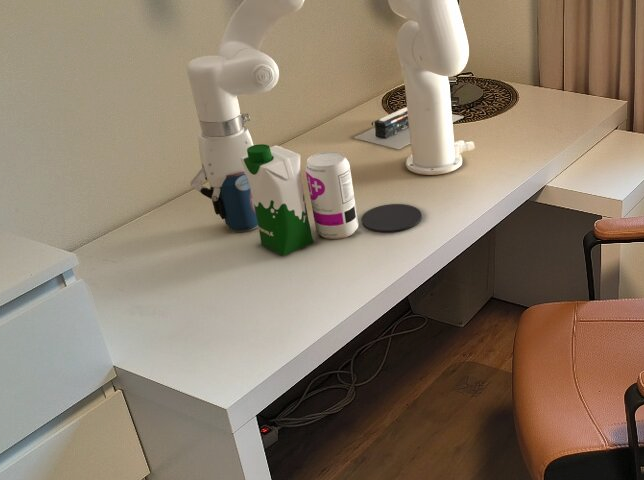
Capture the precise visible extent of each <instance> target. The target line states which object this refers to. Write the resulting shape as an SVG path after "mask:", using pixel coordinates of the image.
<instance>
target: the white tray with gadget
mask: <svg viewBox="0 0 644 480" xmlns="http://www.w3.org/2000/svg"><path fill="white" fill-rule="evenodd" d="M464 117H465V116H463V115H459V114H454V113H452V124H453V123H454V122H457V121H459V120H460V119H463V118H464ZM371 126H374V127H373V128H371V129H369V130H366V131H364V132H362V133H360V134H358V135H356V136H353V137H352V138H353V139H357V140H361V141H364V142H369V143H373V144H377V145H379V146H380V145H381V146H383V147H388V148H391V149H395V150H400V149H402V148H404V147H406V146H408V145H411V139H410V130H409V121H408V111H407V106H405V107H403V108H400V109H398V110H396V111H394V112H392V113H390V114H387V115H385V116H383V117H380V118H379V119H377V120H375V121H372V122H371Z"/></svg>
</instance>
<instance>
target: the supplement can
mask: <svg viewBox="0 0 644 480" xmlns="http://www.w3.org/2000/svg"><path fill="white" fill-rule="evenodd" d="M306 161H307V162H306V164H305V167H304V170H305V176H306V180H307V187H308V193H309V197H310V204H311V209H312V215H313V221H314V227H315V232H316V233H317V234H318V235H319V236H321V237H322V238H324V239H329V240H338V239H339V240H340V239H344V238H347V237H349V236H352V235H353V234H354V233H356V230H358V228H359V219H358V213H357V206H356V200H355V194H354V193H355V191H354V187H353V179H352V172H351V166H350V162H349V161H348V159H347V158H346V156H345V154H343V153H341V152H338V151H323V152H318V153H315V154H312V155H311V156H309V157H308V158H307V160H306Z"/></svg>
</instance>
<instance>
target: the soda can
mask: <svg viewBox="0 0 644 480" xmlns="http://www.w3.org/2000/svg"><path fill="white" fill-rule="evenodd" d="M244 173H245V172H241V173H239V174H235V175H226V177H227V178H226V179H225V181H224V182H223V184H222V187H220V190H221V191H220V194H219V198H220V199H221V200H222V204H223V208H224V212H225V216H226V218H225V219H224V223H225V225H226V226H227V227H228V228H229V229H230V230H231V231H232V232H236V233H245V232H250V231H252V230H255V229H256V228H259V227H258V222H257V217H256V213H255V208H254V203H253V199H252V194H251V189H250V185H249V181H248V178H247V175H246V174H244Z"/></svg>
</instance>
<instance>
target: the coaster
mask: <svg viewBox="0 0 644 480" xmlns="http://www.w3.org/2000/svg"><path fill="white" fill-rule="evenodd" d="M422 218H423V214H422V212H421V210H420V209H418V208H417V207H415V206H413V205H409V204H404V203H392V204H391V203H390V204H384V205H379V206H376V207H372V208H371V209H369V210H367V211H366V212H364V213H363V214H362V216H361V218H360V220H361V225H362V227H364V228H365V229H366V230H368V231H371V232H375V233H383V234H385V233H386V234H389V233H399V232H403V231H406V230H409V229H411V228H414V227H415V226H417V225H418V224H419V223H420V222H421V221H422Z"/></svg>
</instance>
